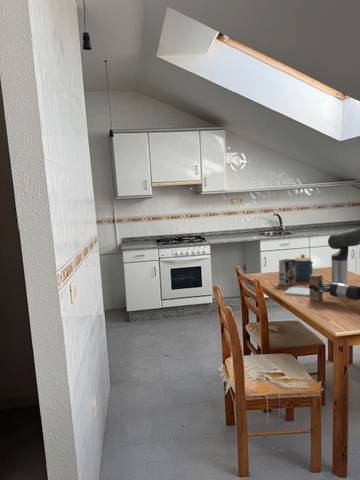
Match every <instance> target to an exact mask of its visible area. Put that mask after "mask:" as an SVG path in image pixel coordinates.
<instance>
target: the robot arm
mask: <svg viewBox="0 0 360 480" xmlns="http://www.w3.org/2000/svg"><path fill="white" fill-rule="evenodd" d="M327 245H328V246H329V248H331V249H332V250H338V251H337V252H335V253H333V254H332V255H331V283H330V282H323V284H322V285H319V286H316V285H310V284H309V285H308V288H309V289H314V291H316V292H319V293H328V294H329V295H330V296H332V297H335V298H341V299H349V300H355V301H360V286H357V285H352V284H351V285H350V284H348V279H349V277H348V274H349V272H348V271H349V270H348V265H349V263H348V256H349V247H355V246H356V247H357V246H360V227H358V228H353V229H350V230H347V231H344V232H341V233H334V234H331V235H329V237H328V240H327ZM321 287H322V288H321Z"/></svg>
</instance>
